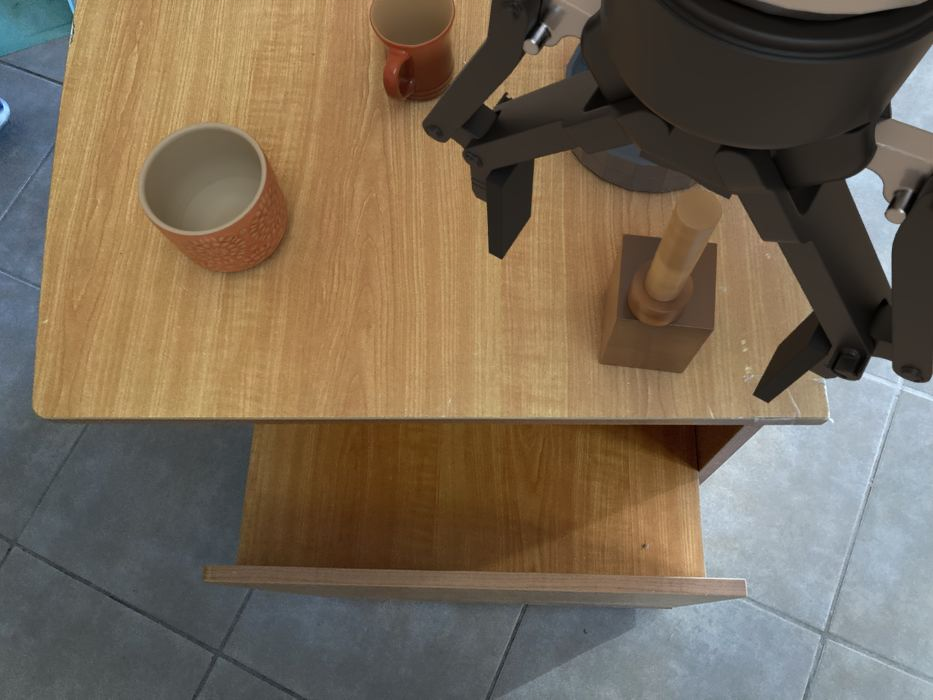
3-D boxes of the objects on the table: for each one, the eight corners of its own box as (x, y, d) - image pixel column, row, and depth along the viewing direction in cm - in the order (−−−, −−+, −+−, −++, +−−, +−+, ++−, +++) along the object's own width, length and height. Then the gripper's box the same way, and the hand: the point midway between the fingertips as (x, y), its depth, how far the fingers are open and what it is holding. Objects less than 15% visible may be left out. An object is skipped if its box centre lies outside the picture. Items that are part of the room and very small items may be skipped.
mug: (399, 39, 89) (387, -31, 79) (471, 57, 88) (466, -12, 78) (362, 123, 86) (344, 60, 76) (435, 143, 84) (427, 81, 75)
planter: (172, 282, 80) (122, 233, 70) (194, 179, 84) (150, 118, 74) (288, 288, 79) (256, 239, 69) (305, 183, 83) (276, 122, 73)
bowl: (740, 54, 86) (755, 18, 81) (735, 203, 80) (751, 174, 75) (569, 40, 88) (573, 4, 83) (552, 185, 82) (555, 156, 77)
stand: (686, 298, 77) (717, 243, 66) (682, 373, 74) (714, 329, 63) (605, 289, 78) (623, 233, 66) (599, 363, 75) (616, 318, 64)
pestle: (663, 263, 65) (708, 165, 51) (696, 308, 64) (751, 220, 49) (616, 290, 65) (647, 198, 50) (648, 336, 63) (689, 254, 49)
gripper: (211, -201, 17) (369, 240, 37) (1470, 340, 12) (862, 515, 32) (397, -390, 19) (452, 127, 39) (1550, 3, 14) (929, 368, 34)
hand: (636, 301), depth 35 cm, fingers open, 13 cm apart
